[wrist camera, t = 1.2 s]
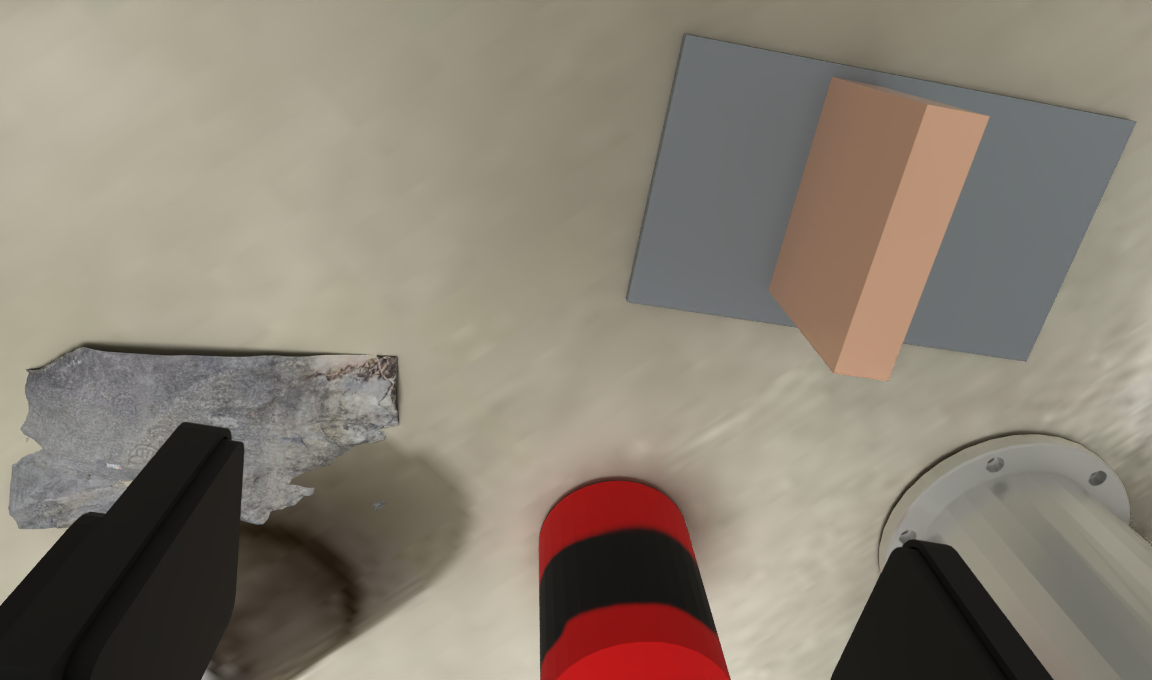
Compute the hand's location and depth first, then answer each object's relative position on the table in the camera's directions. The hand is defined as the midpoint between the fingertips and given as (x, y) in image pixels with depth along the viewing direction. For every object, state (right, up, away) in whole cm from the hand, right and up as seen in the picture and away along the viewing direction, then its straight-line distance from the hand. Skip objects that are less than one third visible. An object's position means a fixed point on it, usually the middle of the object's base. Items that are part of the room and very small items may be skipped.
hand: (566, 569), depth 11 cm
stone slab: (-17, -1, +26) cm, 31 cm away
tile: (+10, +9, +21) cm, 25 cm away
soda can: (+2, -7, +29) cm, 30 cm away
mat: (+13, +9, +22) cm, 27 cm away
